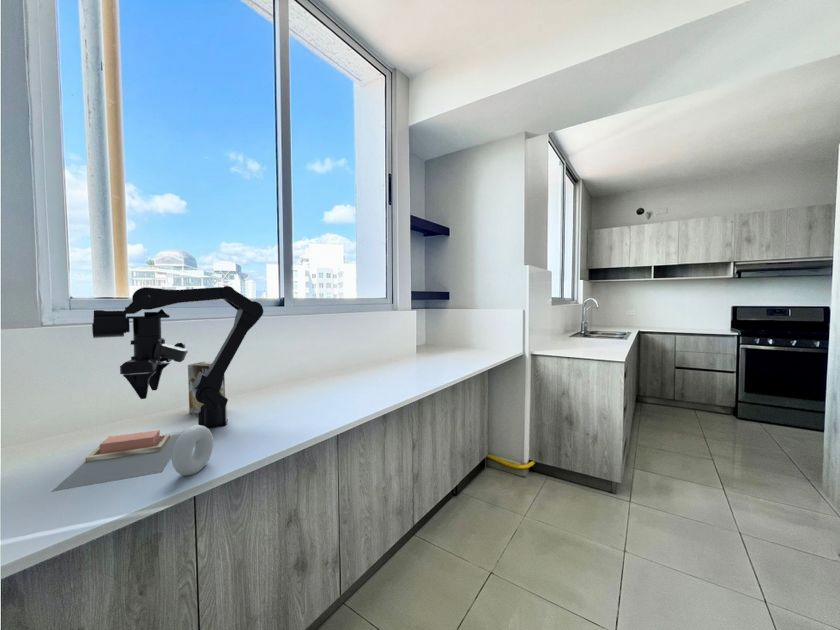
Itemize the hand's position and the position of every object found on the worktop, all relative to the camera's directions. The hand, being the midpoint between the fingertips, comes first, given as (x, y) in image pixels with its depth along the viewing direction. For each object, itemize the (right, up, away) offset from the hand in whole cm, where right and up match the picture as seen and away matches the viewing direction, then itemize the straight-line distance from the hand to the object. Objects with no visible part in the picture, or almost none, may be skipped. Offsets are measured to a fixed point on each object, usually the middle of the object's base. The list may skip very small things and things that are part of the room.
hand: (149, 394), depth 88 cm
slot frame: (+1, -12, -7) cm, 14 cm away
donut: (+24, -13, -17) cm, 32 cm away
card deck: (+1, -12, -7) cm, 14 cm away
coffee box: (0, -12, +24) cm, 26 cm away
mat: (+5, -12, -11) cm, 17 cm away
